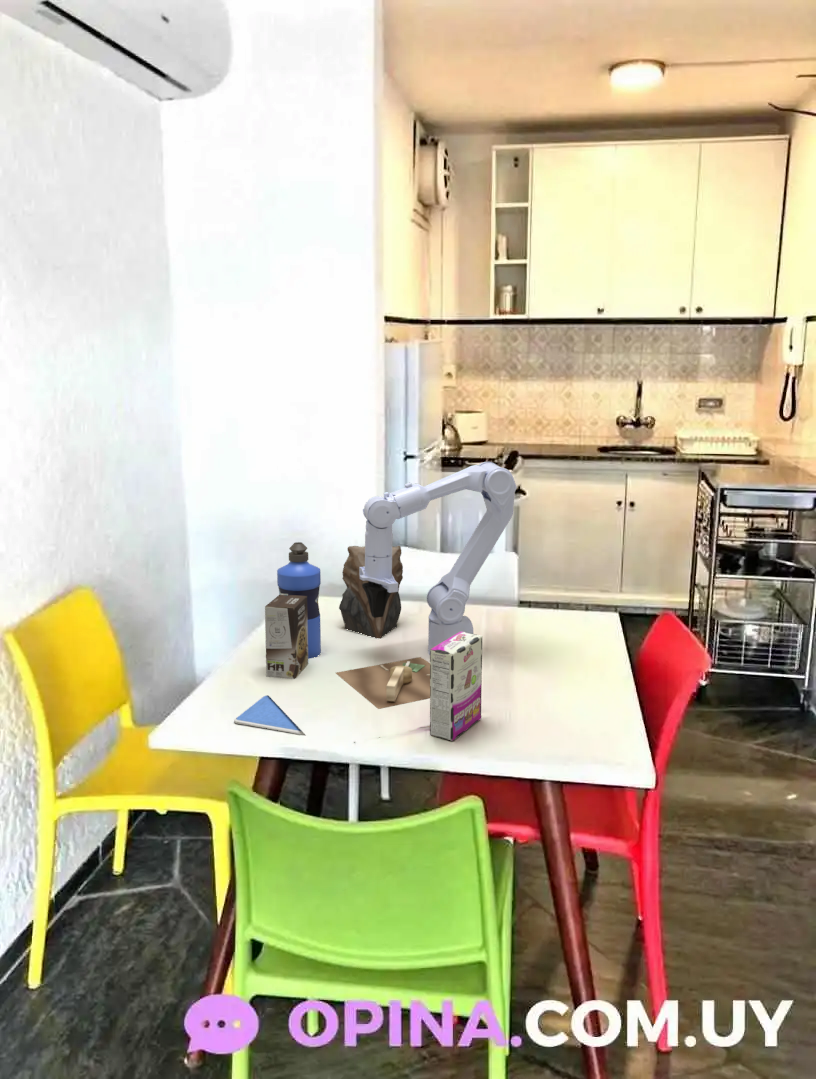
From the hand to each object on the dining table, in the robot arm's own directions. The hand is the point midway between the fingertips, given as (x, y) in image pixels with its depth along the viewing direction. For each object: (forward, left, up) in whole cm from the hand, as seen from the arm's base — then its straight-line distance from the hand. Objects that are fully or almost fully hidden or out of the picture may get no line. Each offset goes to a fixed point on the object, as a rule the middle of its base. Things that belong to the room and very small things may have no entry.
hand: (377, 616), depth 187 cm
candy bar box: (+2, +35, -11) cm, 37 cm away
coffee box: (+20, -2, -11) cm, 22 cm away
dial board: (+2, +14, -10) cm, 18 cm away
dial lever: (+2, +15, -9) cm, 17 cm away
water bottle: (+13, -13, -11) cm, 21 cm away
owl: (-8, -20, -11) cm, 24 cm away
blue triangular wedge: (+26, +18, -11) cm, 34 cm away
